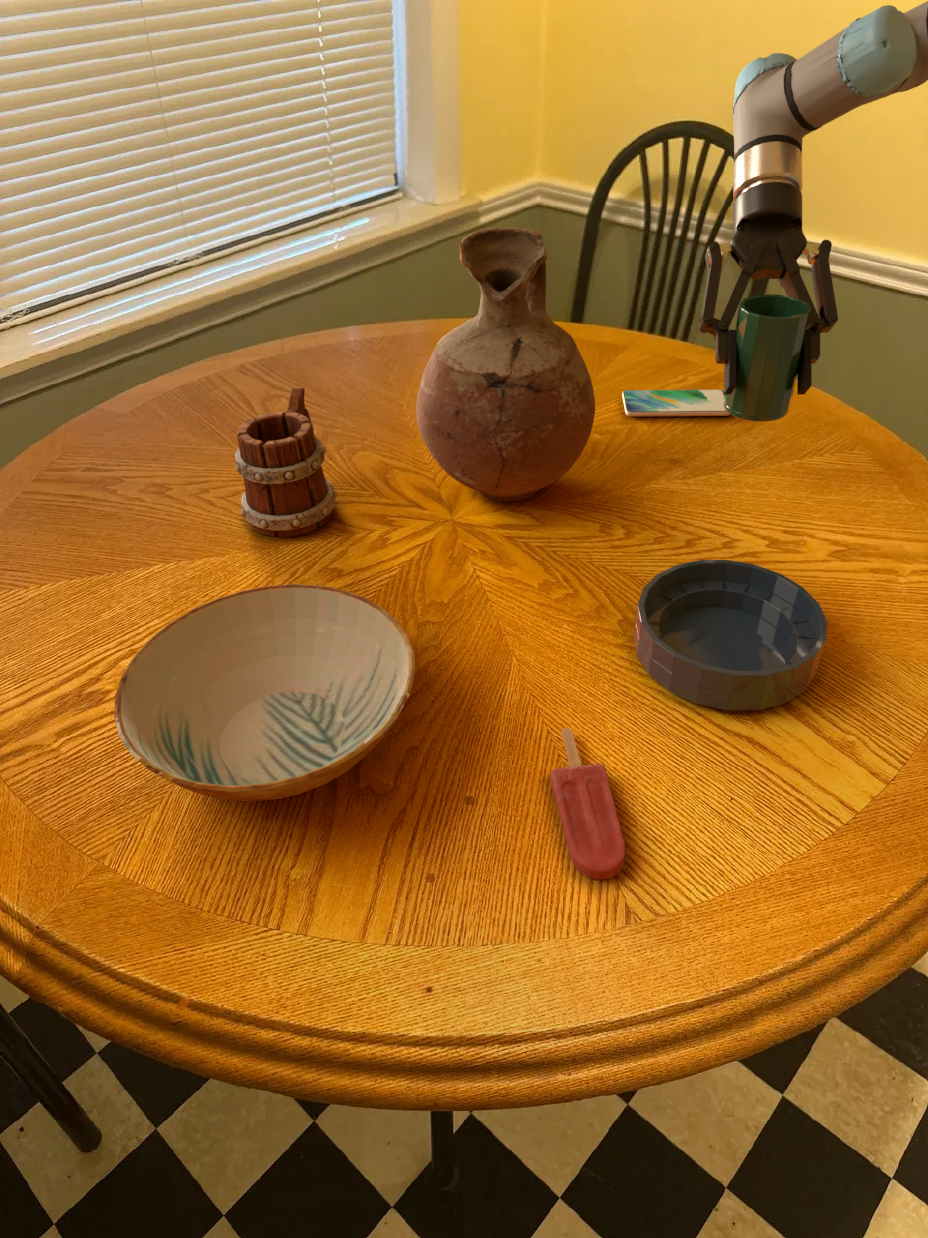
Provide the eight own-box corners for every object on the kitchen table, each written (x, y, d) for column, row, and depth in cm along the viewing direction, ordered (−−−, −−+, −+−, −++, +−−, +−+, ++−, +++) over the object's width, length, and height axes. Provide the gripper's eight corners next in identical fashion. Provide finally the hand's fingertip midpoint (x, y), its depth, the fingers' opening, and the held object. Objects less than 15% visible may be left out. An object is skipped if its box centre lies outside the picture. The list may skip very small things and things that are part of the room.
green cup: (767, 389, 105) (786, 290, 98) (801, 415, 100) (824, 312, 92) (712, 399, 104) (727, 299, 96) (744, 425, 99) (762, 321, 91)
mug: (223, 538, 103) (204, 415, 95) (269, 495, 115) (255, 382, 107) (317, 546, 101) (305, 420, 93) (353, 501, 113) (345, 386, 105)
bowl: (450, 662, 85) (446, 599, 80) (373, 880, 66) (361, 815, 61) (217, 632, 90) (199, 570, 85) (83, 826, 71) (50, 762, 66)
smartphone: (732, 411, 122) (626, 412, 123) (731, 417, 123) (625, 417, 123) (724, 388, 127) (621, 389, 128) (723, 394, 128) (621, 394, 129)
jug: (399, 516, 106) (375, 263, 87) (448, 434, 122) (437, 206, 102) (574, 538, 101) (589, 275, 82) (601, 450, 117) (620, 213, 97)
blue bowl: (754, 584, 93) (763, 546, 90) (852, 691, 80) (866, 651, 77) (606, 616, 89) (610, 578, 86) (683, 733, 77) (691, 693, 73)
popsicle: (590, 718, 76) (634, 865, 64) (589, 732, 77) (632, 878, 66) (540, 724, 76) (575, 872, 64) (539, 737, 77) (574, 885, 65)
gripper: (847, 214, 102) (848, 401, 100) (672, 217, 104) (670, 401, 102) (871, 175, 94) (873, 377, 92) (682, 180, 96) (680, 377, 94)
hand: (767, 389), depth 97 cm, fingers closed on green cup, 7 cm apart
